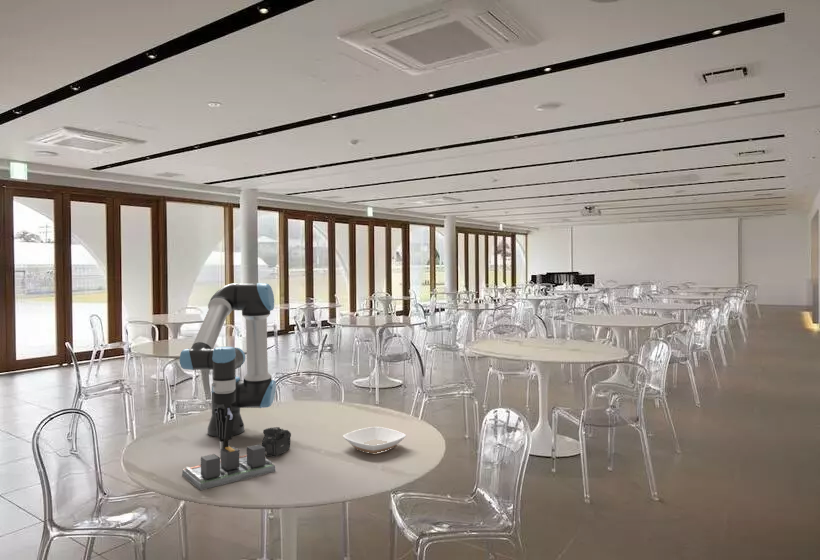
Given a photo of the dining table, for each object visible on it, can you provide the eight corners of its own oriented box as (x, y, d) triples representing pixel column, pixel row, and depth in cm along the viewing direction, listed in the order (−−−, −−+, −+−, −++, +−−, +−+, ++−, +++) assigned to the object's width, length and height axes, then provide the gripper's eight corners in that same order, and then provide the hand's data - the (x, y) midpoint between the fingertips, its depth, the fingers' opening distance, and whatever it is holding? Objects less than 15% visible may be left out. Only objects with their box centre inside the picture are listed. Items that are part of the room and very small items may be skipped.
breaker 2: (220, 466, 192) (220, 448, 191) (233, 463, 194) (233, 445, 194) (226, 470, 188) (226, 451, 188) (239, 467, 191) (239, 449, 191)
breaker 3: (246, 463, 194) (246, 446, 194) (258, 461, 197) (258, 444, 197) (253, 467, 190) (253, 450, 190) (265, 464, 193) (265, 447, 193)
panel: (182, 475, 190) (182, 466, 190) (254, 458, 206) (254, 450, 206) (200, 490, 177) (200, 480, 177) (275, 471, 193) (275, 462, 193)
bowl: (335, 448, 218) (335, 435, 218) (375, 436, 234) (375, 424, 234) (373, 461, 204) (373, 447, 203) (413, 448, 219) (413, 435, 219)
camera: (266, 447, 220) (266, 422, 220) (292, 446, 220) (291, 421, 220) (259, 458, 207) (258, 431, 207) (285, 458, 207) (285, 431, 207)
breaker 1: (200, 474, 184) (200, 456, 184) (214, 471, 187) (214, 453, 187) (206, 479, 180) (206, 460, 180) (220, 475, 183) (220, 457, 183)
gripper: (206, 389, 197) (206, 456, 197) (220, 396, 187) (220, 465, 187) (227, 387, 201) (227, 451, 202) (242, 393, 191) (242, 461, 192)
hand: (224, 458), depth 194 cm, fingers closed
